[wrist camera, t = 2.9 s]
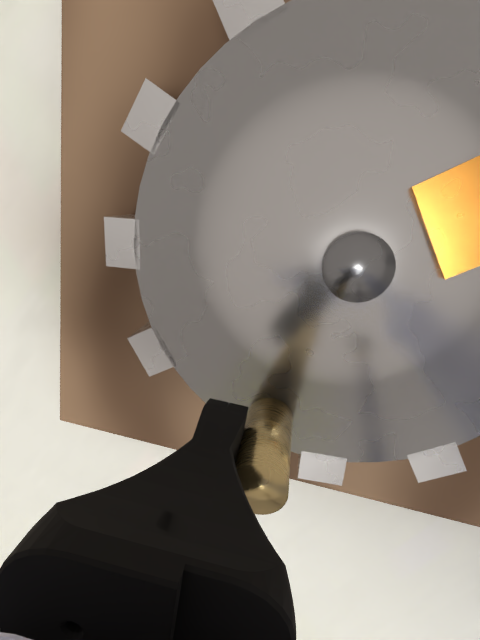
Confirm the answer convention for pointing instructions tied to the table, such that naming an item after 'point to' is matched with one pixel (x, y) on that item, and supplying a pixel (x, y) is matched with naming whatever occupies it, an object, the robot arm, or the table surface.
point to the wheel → (318, 235)
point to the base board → (121, 283)
